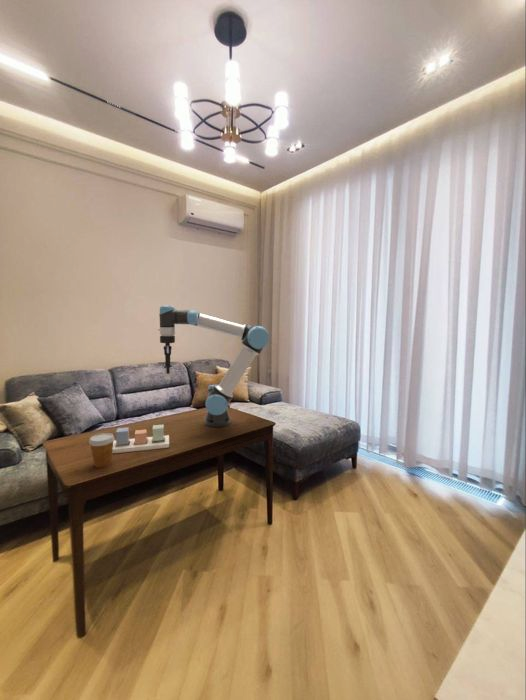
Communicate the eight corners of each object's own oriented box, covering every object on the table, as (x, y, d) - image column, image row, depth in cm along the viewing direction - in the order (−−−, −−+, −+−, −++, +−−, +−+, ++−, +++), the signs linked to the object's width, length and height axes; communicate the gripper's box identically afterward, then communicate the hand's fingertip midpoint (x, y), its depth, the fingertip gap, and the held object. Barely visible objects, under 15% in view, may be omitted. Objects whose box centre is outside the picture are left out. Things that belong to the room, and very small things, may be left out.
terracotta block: (146, 441, 150) (146, 429, 149) (146, 445, 145) (145, 433, 144) (135, 442, 148) (135, 430, 148) (134, 446, 144) (134, 434, 143)
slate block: (129, 439, 147) (128, 427, 147) (128, 443, 142) (127, 431, 142) (117, 440, 146) (117, 428, 145) (116, 444, 141) (115, 432, 140)
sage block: (163, 435, 152) (163, 424, 151) (163, 439, 147) (163, 427, 147) (153, 436, 151) (152, 425, 150) (152, 440, 146) (152, 428, 145)
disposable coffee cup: (96, 459, 133) (95, 432, 131) (118, 458, 133) (118, 432, 132) (85, 470, 123) (84, 441, 122) (109, 469, 124) (108, 441, 123)
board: (168, 438, 156) (168, 435, 156) (169, 447, 146) (169, 443, 145) (113, 444, 148) (113, 440, 148) (109, 454, 138) (109, 449, 137)
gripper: (160, 334, 164) (160, 377, 167) (159, 336, 152) (160, 382, 154) (174, 334, 167) (175, 376, 169) (175, 336, 154) (175, 381, 157)
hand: (168, 379), depth 162 cm, fingers closed
